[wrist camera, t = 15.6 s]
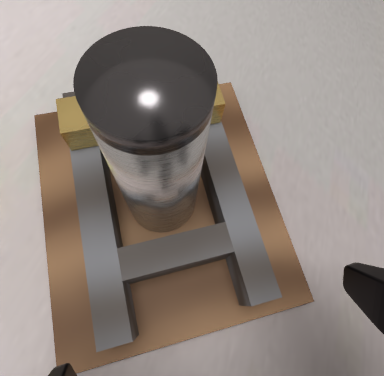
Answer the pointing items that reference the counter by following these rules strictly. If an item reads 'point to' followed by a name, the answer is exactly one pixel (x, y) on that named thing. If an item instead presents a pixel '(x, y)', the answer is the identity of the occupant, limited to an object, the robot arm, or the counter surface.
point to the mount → (160, 250)
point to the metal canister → (150, 117)
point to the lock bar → (80, 131)
